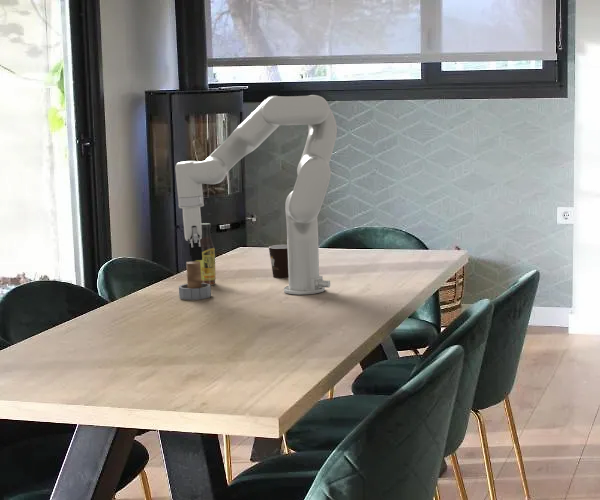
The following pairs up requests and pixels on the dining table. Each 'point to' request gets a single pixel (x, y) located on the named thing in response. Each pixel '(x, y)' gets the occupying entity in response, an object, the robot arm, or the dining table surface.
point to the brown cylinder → (193, 274)
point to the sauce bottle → (207, 256)
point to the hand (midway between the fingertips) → (196, 257)
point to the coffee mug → (279, 261)
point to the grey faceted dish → (195, 292)
